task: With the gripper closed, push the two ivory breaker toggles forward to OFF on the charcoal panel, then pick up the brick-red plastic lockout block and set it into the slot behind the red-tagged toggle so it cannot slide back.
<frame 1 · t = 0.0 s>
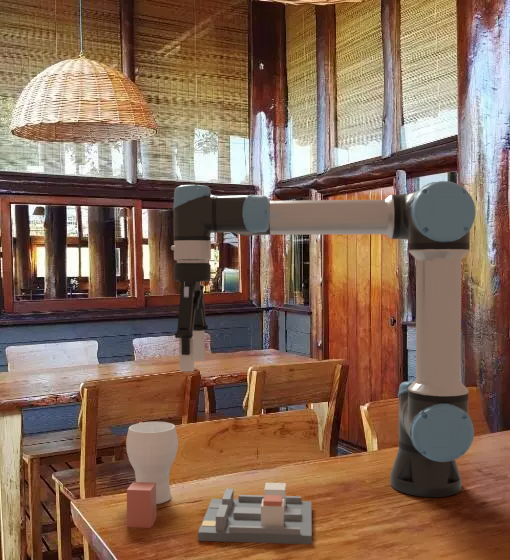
hand: (192, 366, 138), 28 cm above the table, fingers open, 13 cm apart
breaker a: (275, 496, 132), point 4 cm above the table, slide at 0.0 cm
cup: (152, 499, 141), on the table
breaker b: (272, 511, 123), point 4 cm above the table, slide at 0.0 cm
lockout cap: (141, 522, 128), on the table
panel: (252, 523, 128), on the table
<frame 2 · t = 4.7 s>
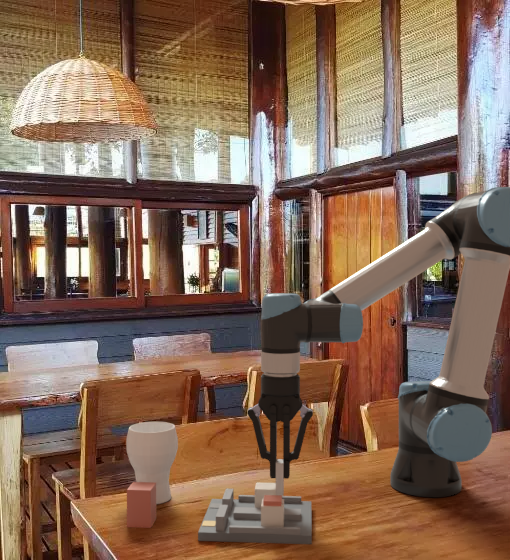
hand: (279, 494, 131), 4 cm above the table, fingers closed
breaker a: (265, 496, 132), point 4 cm above the table, slide at 1.9 cm, touching gripper
everything else where it was.
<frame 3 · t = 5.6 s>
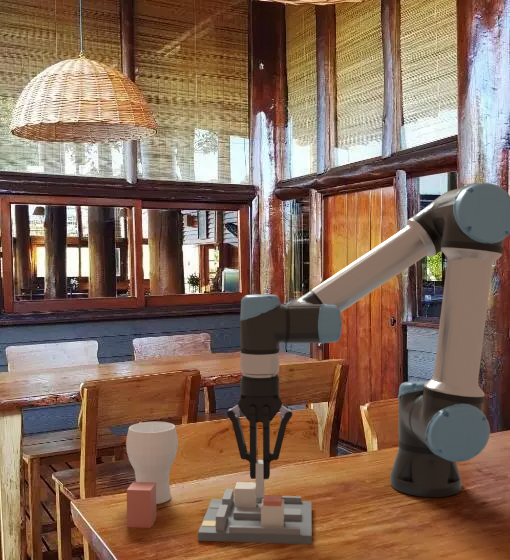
hand: (260, 494, 132), 4 cm above the table, fingers closed
breaker a: (246, 495, 132), point 4 cm above the table, slide at 5.7 cm, touching gripper
everything else where it was.
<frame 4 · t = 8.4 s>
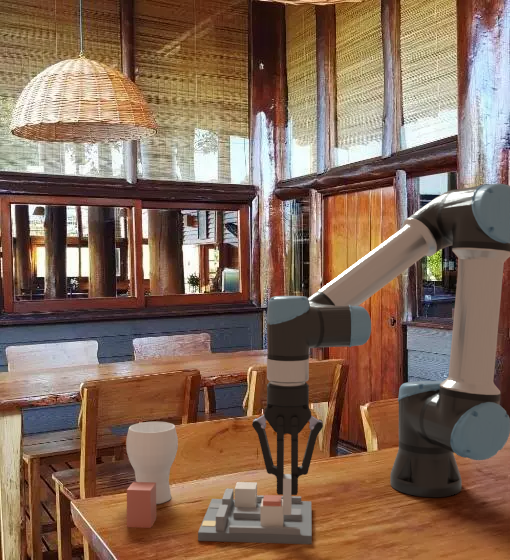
hand: (287, 511, 122), 4 cm above the table, fingers closed
breaker a: (246, 495, 132), point 4 cm above the table, slide at 5.7 cm
breaker b: (272, 511, 123), point 4 cm above the table, slide at 0.1 cm, touching gripper
everything else where it was.
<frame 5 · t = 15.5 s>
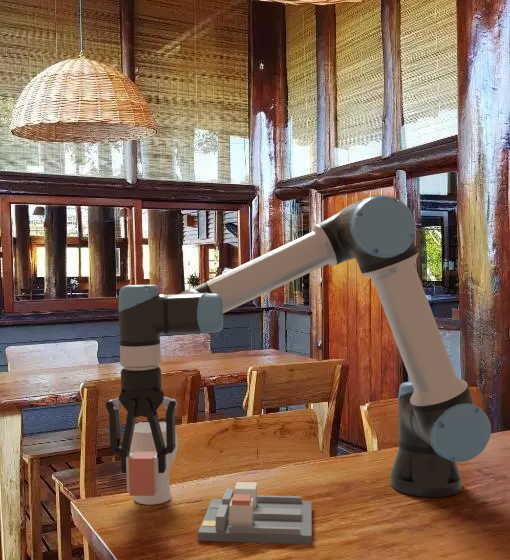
hand: (144, 489, 128), 6 cm above the table, fingers closed on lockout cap, 4 cm apart
breaker b: (241, 510, 123), point 4 cm above the table, slide at 5.7 cm
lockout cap: (144, 491, 128), point 6 cm above the table, touching gripper
everything else where it was.
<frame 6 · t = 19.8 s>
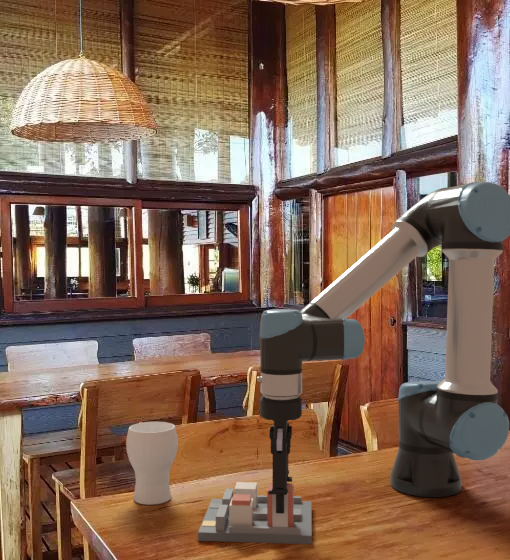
hand: (280, 523, 123), 2 cm above the table, fingers closed on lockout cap, 4 cm apart
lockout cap: (280, 525, 123), point 2 cm above the table, touching gripper
everything else where it was.
when the fingers open (2 cm above the table, at t = 21.2 s): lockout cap stays where it is, resting on panel.
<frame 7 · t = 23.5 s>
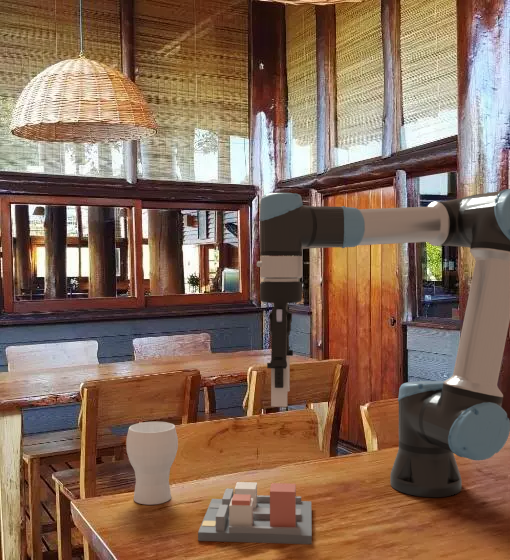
hand: (280, 398, 122), 25 cm above the table, fingers open, 13 cm apart
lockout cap: (283, 525, 123), point 1 cm above the table, touching panel
everything else where it was.
at the end: breaker a slide at 5.7 cm; breaker b slide at 5.7 cm; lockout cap 0.4 cm from the target spot on the panel, point 1.5 cm above the panel's base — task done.
